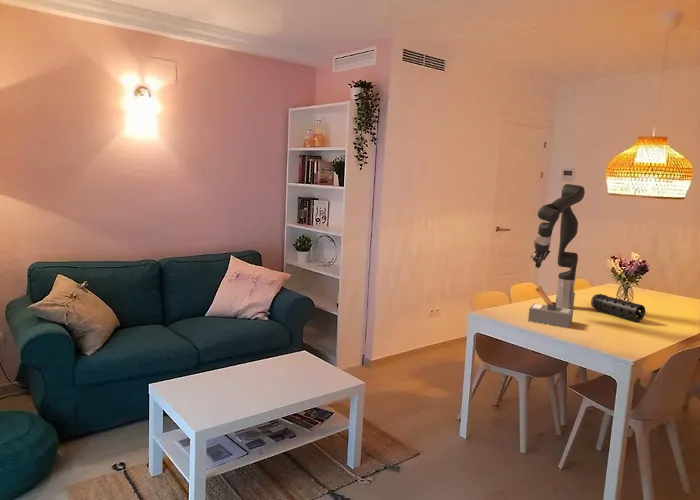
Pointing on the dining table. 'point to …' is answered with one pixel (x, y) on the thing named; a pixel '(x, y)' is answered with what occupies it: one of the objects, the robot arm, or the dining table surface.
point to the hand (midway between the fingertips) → (537, 267)
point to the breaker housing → (550, 315)
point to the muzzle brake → (618, 307)
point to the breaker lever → (543, 295)
